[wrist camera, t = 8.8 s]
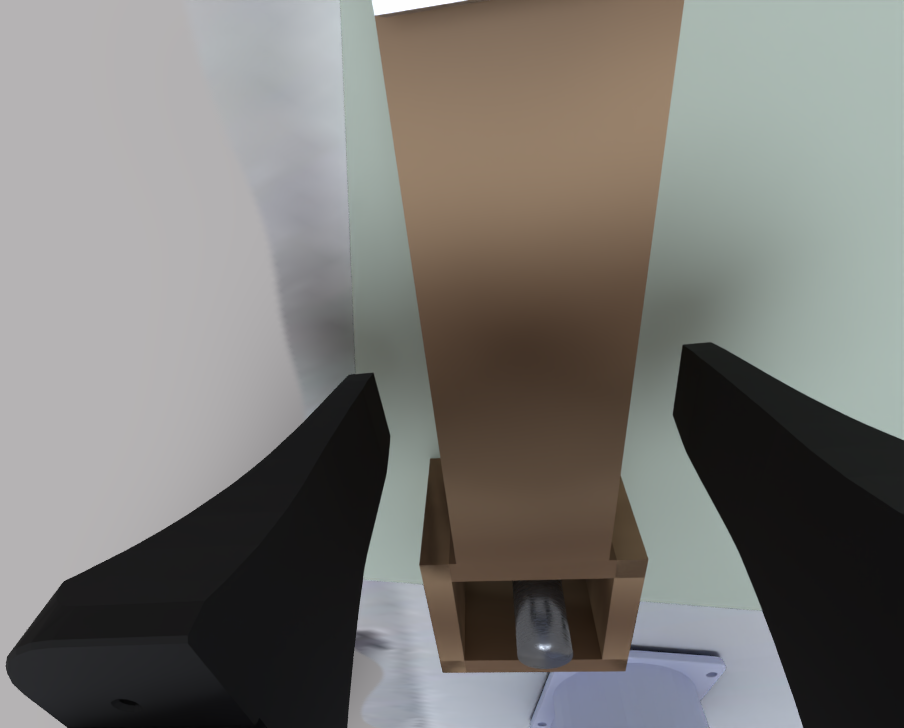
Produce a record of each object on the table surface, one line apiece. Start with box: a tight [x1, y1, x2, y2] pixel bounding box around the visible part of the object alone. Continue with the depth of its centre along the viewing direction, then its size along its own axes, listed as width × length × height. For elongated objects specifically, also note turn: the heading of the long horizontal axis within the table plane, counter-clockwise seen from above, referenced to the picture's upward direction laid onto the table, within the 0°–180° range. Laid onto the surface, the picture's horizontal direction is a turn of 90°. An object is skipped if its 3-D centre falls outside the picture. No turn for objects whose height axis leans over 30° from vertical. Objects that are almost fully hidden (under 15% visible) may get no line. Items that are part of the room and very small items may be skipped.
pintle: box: [512, 579, 573, 669], centre depth 16 cm, size 2×2×5 cm
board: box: [340, 0, 904, 611], centre depth 13 cm, size 27×18×1 cm, turn 176°
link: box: [374, 0, 684, 673], centre depth 12 cm, size 20×6×4 cm, turn 5°
